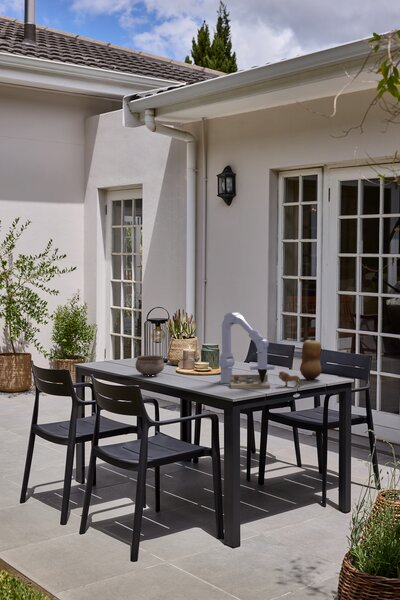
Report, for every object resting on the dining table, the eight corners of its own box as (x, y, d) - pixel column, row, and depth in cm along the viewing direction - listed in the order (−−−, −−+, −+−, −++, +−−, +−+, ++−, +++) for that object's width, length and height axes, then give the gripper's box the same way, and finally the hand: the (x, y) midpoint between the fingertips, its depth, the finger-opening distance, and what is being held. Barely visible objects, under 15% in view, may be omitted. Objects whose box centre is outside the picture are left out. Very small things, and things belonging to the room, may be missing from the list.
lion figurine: (278, 386, 474) (278, 371, 474) (279, 385, 480) (279, 370, 479) (303, 387, 472) (303, 372, 471) (303, 386, 477) (303, 371, 477)
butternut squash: (320, 381, 494) (321, 341, 493) (299, 380, 497) (299, 341, 495) (321, 378, 508) (321, 339, 507) (300, 377, 510) (300, 338, 509)
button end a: (234, 384, 477) (234, 381, 477) (239, 384, 478) (239, 381, 477) (234, 385, 474) (234, 382, 474) (240, 385, 474) (240, 382, 474)
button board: (229, 384, 483) (229, 374, 482) (267, 384, 483) (267, 374, 483) (231, 388, 469) (231, 378, 468) (270, 388, 469) (270, 378, 469)
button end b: (258, 384, 478) (258, 381, 478) (264, 384, 478) (264, 381, 478) (259, 385, 474) (259, 382, 474) (265, 385, 474) (265, 382, 474)
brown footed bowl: (149, 372, 533) (148, 354, 533) (172, 374, 524) (172, 355, 523) (126, 377, 512) (126, 358, 511) (151, 379, 502) (150, 360, 502)
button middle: (246, 382, 478) (246, 379, 477) (252, 382, 478) (252, 379, 478) (247, 383, 474) (247, 380, 474) (253, 383, 474) (253, 380, 474)
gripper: (250, 360, 471) (250, 382, 472) (275, 360, 472) (275, 382, 472) (249, 358, 478) (249, 381, 479) (273, 358, 479) (273, 380, 479)
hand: (262, 381), depth 476 cm, fingers closed, pressing on button end b
